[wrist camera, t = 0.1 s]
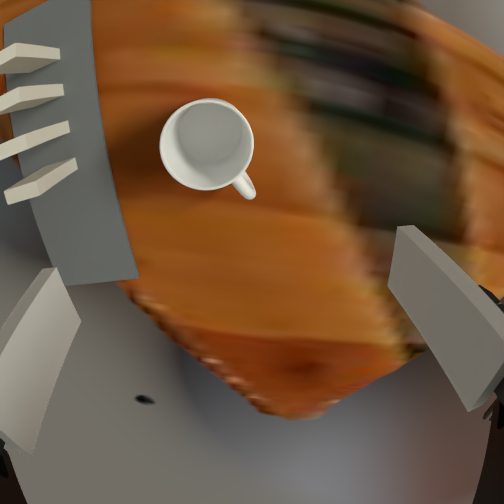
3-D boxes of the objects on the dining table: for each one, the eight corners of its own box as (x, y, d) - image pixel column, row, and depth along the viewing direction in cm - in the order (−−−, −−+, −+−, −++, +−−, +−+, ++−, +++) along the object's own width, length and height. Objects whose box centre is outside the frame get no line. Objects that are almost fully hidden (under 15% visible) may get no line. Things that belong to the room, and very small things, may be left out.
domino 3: (37, 130, 30) (-7, 147, 22) (68, 120, 30) (25, 133, 22) (40, 142, 31) (-4, 161, 22) (70, 132, 31) (28, 149, 23)
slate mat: (6, 25, 21) (3, 24, 21) (90, -16, 22) (89, -17, 22) (62, 284, 42) (61, 286, 42) (139, 275, 43) (138, 278, 42)
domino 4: (45, 166, 33) (3, 191, 24) (75, 157, 33) (35, 180, 24) (48, 177, 33) (7, 204, 25) (77, 169, 34) (39, 195, 25)
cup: (217, 84, 32) (215, 80, 23) (276, 161, 37) (294, 186, 28) (161, 127, 33) (140, 140, 25) (222, 200, 39) (223, 235, 30)
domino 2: (32, 96, 28) (-15, 104, 19) (62, 83, 28) (18, 87, 19) (34, 107, 28) (-13, 118, 20) (64, 95, 29) (19, 101, 20)
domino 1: (29, 62, 25) (-18, 62, 17) (59, 48, 25) (15, 42, 17) (30, 72, 26) (-17, 75, 17) (60, 59, 26) (15, 56, 18)
